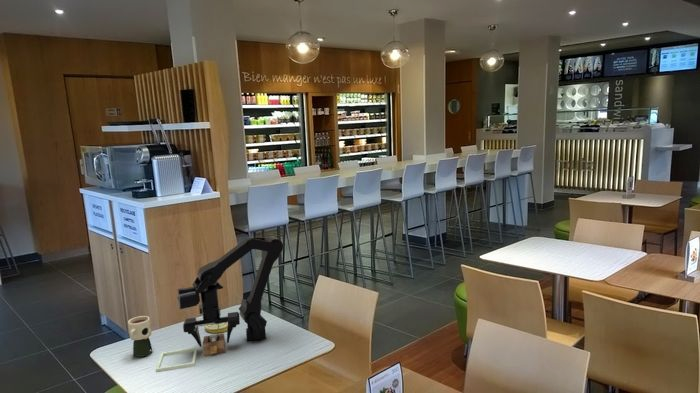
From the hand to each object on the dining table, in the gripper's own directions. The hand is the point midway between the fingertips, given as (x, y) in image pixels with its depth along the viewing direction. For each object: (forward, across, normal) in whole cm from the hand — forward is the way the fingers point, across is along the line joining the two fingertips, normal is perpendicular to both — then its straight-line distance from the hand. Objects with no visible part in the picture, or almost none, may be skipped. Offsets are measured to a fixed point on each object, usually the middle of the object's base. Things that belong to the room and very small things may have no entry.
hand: (214, 344), depth 167 cm
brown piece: (+2, 0, 0) cm, 2 cm away
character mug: (+3, +25, -7) cm, 26 cm away
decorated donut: (+3, -1, -19) cm, 19 cm away
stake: (+3, 0, 0) cm, 3 cm away
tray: (+3, +12, +4) cm, 13 cm away
